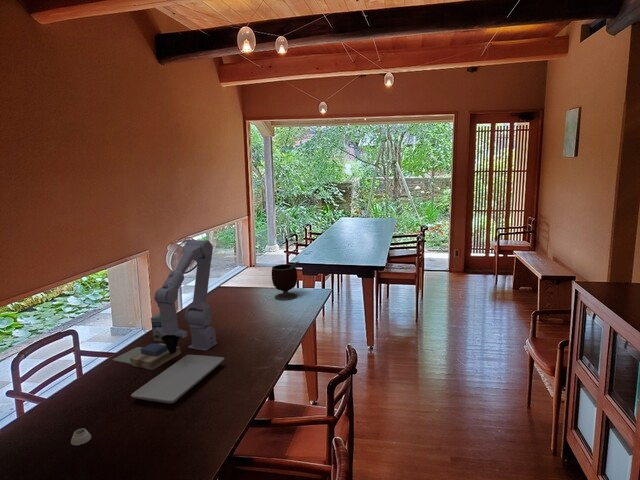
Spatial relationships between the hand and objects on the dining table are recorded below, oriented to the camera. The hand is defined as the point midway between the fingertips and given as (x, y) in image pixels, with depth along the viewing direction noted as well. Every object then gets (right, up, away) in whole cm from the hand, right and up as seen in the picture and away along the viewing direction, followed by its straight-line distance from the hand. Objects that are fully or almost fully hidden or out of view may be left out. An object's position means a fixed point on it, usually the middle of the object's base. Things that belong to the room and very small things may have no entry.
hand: (172, 352), depth 173 cm
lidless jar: (-11, -13, -46) cm, 49 cm away
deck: (-8, -4, +5) cm, 10 cm away
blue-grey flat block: (-8, -1, +4) cm, 10 cm away
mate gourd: (+38, +11, +76) cm, 86 cm away
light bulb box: (-12, 0, +28) cm, 30 cm away
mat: (-18, -3, +10) cm, 21 cm away
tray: (+8, -7, -16) cm, 19 cm away
